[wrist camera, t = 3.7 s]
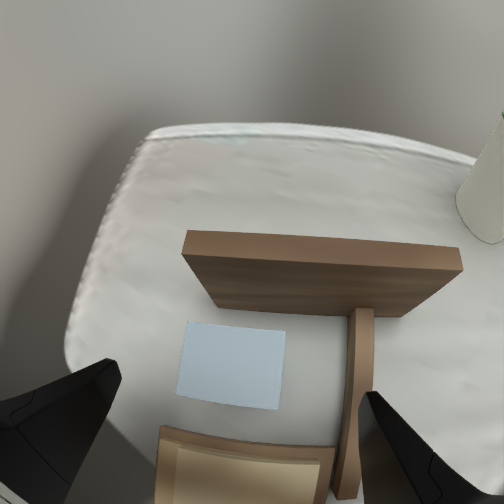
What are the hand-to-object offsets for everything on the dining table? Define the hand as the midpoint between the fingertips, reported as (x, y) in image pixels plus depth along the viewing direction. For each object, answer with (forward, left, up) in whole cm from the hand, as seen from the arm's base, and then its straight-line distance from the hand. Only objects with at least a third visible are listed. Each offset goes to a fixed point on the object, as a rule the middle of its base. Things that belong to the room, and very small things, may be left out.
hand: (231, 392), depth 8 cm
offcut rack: (0, -3, -9) cm, 9 cm away
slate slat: (+1, +1, -8) cm, 9 cm away
